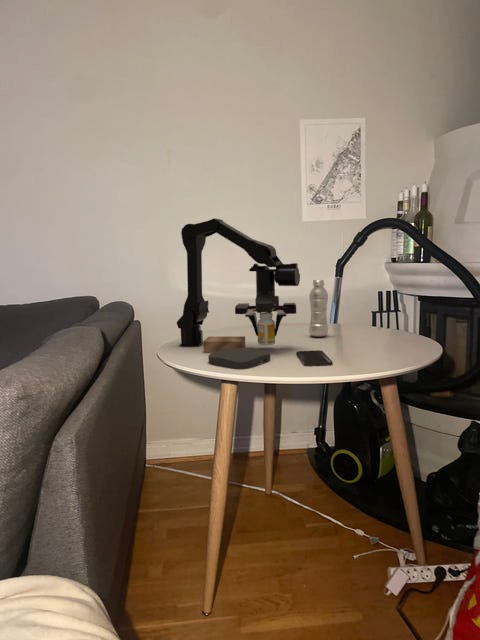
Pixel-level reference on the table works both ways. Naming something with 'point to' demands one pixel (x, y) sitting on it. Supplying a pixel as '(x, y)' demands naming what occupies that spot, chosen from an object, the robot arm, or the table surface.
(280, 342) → the table surface
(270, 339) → the supplement bottle
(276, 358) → the table surface
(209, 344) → the block
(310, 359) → the phone
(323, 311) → the plastic bottle
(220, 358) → the media streaming box
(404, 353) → the table surface
